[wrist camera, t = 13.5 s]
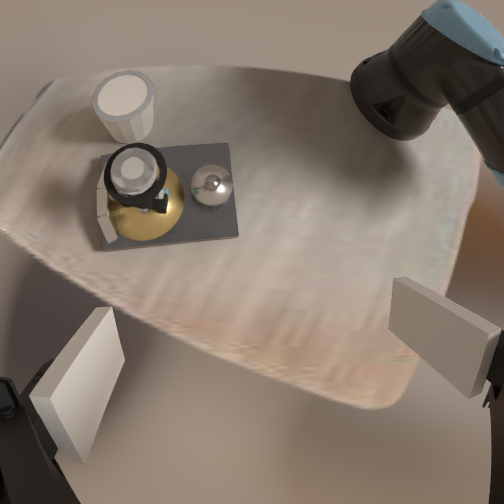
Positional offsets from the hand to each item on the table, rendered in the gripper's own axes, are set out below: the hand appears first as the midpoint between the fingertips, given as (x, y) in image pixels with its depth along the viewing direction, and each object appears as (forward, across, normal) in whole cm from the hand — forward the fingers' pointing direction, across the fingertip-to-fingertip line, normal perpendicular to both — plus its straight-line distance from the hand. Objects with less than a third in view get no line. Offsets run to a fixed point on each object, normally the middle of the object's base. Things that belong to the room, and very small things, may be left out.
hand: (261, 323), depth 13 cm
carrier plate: (+24, -7, +5) cm, 25 cm away
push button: (+22, -9, +5) cm, 24 cm away
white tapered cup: (+26, -11, +15) cm, 32 cm away
